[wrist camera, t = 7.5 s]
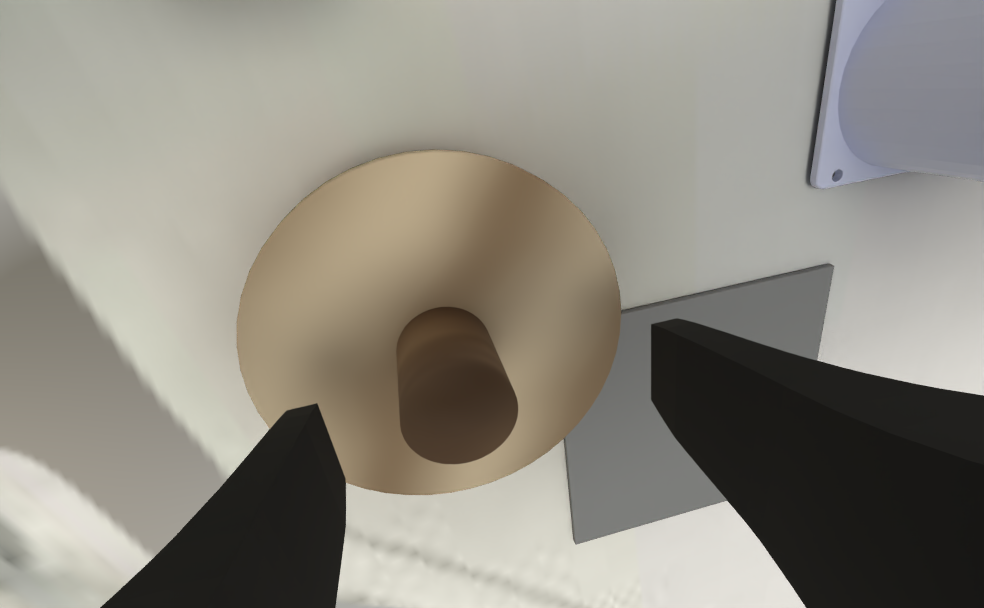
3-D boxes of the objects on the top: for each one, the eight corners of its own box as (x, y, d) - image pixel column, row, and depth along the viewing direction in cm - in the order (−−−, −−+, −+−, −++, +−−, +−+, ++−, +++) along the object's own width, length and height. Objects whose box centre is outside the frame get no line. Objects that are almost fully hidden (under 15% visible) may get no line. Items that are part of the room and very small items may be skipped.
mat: (828, 263, 23) (834, 265, 23) (790, 477, 29) (794, 480, 29) (553, 326, 21) (555, 329, 21) (573, 540, 27) (575, 544, 27)
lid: (661, 202, 15) (754, 237, 12) (551, 486, 20) (592, 583, 16) (262, 96, 12) (205, 98, 8) (230, 469, 16) (182, 587, 12)
